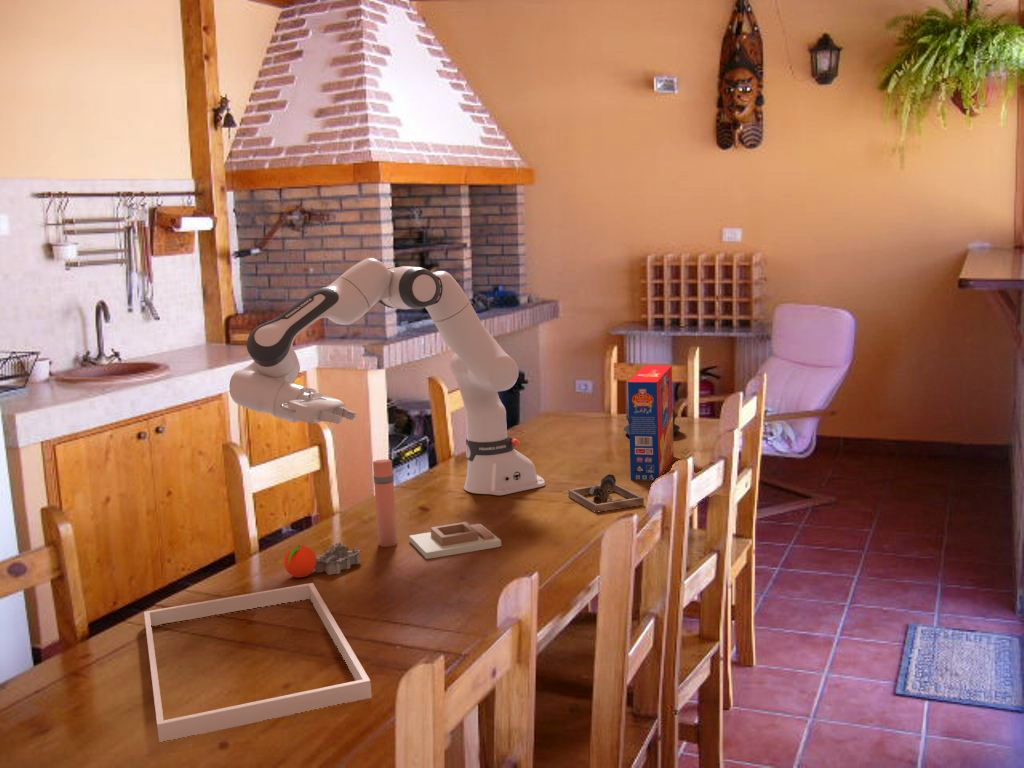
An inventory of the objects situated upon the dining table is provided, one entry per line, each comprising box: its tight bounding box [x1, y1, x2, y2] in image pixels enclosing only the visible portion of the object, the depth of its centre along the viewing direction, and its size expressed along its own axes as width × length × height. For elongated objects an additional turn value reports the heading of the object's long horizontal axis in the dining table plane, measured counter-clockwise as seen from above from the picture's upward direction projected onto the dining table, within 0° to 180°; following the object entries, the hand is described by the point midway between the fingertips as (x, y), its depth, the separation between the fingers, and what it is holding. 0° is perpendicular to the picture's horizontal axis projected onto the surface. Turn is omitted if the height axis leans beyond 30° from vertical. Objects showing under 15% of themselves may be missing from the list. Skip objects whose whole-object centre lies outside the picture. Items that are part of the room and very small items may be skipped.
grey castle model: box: [314, 541, 363, 576], centre depth 236 cm, size 11×8×4 cm
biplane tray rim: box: [143, 582, 373, 743], centre depth 189 cm, size 33×50×3 cm, turn 21°
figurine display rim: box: [567, 482, 645, 513], centre depth 276 cm, size 14×17×2 cm
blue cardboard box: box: [627, 365, 675, 482], centre depth 305 cm, size 28×8×28 cm, turn 163°
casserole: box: [623, 408, 681, 436], centre depth 350 cm, size 25×19×8 cm
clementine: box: [283, 544, 317, 579], centre depth 229 cm, size 8×7×7 cm
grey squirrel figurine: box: [589, 473, 617, 504], centre depth 277 cm, size 8×7×9 cm
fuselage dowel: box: [372, 458, 398, 548], centre depth 248 cm, size 4×4×20 cm
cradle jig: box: [408, 521, 502, 560], centre depth 247 cm, size 18×14×4 cm
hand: (348, 418), depth 247 cm, fingers open, 8 cm apart
